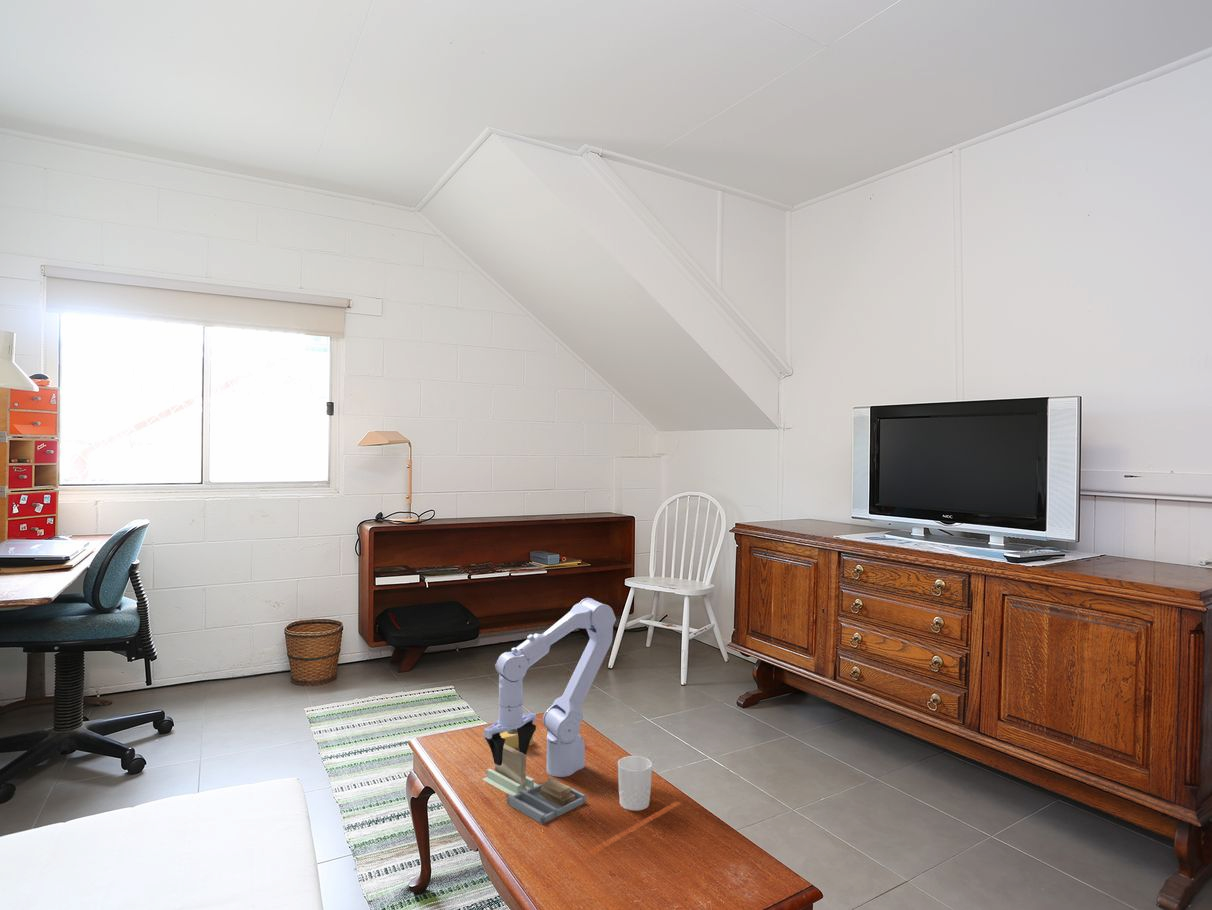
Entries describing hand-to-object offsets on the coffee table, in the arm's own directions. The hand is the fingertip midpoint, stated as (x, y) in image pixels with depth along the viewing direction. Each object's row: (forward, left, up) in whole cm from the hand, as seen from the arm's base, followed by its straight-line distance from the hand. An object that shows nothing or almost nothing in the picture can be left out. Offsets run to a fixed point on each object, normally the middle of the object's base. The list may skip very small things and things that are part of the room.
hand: (510, 759), depth 172 cm
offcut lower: (-3, +14, -6) cm, 15 cm away
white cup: (-14, +28, -7) cm, 32 cm away
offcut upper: (-3, +13, -4) cm, 14 cm away
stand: (0, 0, -6) cm, 6 cm away
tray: (+1, +14, -6) cm, 15 cm away
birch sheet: (0, 0, -6) cm, 6 cm away
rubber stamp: (-15, -18, -7) cm, 24 cm away
